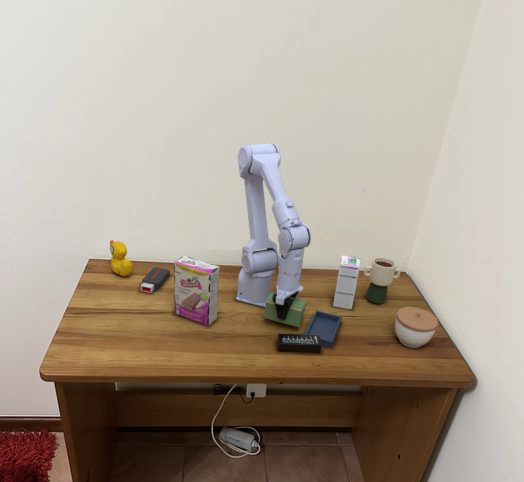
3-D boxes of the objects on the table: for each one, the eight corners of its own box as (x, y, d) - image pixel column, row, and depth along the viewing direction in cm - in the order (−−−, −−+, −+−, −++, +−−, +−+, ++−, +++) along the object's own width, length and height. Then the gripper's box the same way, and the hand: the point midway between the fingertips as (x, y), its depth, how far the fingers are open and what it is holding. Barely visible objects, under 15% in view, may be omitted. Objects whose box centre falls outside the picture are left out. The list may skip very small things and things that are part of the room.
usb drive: (170, 275, 152) (169, 268, 151) (154, 294, 142) (154, 286, 141) (154, 272, 153) (154, 265, 152) (137, 291, 143) (137, 282, 142)
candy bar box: (173, 315, 134) (172, 261, 125) (183, 306, 138) (183, 254, 129) (208, 327, 130) (210, 273, 122) (218, 318, 134) (220, 265, 126)
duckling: (104, 267, 154) (102, 238, 148) (121, 263, 157) (118, 234, 151) (121, 282, 146) (118, 252, 141) (137, 278, 149) (135, 248, 144)
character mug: (390, 295, 154) (399, 258, 147) (395, 307, 148) (405, 269, 141) (356, 292, 153) (364, 255, 147) (359, 304, 147) (368, 266, 141)
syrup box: (351, 310, 144) (361, 266, 137) (331, 306, 145) (340, 262, 137) (352, 300, 149) (361, 257, 142) (333, 297, 150) (341, 254, 142)
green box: (263, 318, 133) (265, 299, 130) (268, 310, 137) (270, 291, 133) (299, 327, 131) (302, 308, 127) (303, 319, 134) (306, 300, 131)
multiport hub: (276, 340, 128) (277, 333, 126) (318, 342, 128) (319, 335, 127) (278, 350, 124) (279, 343, 123) (320, 352, 125) (322, 345, 123)
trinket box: (424, 358, 127) (434, 328, 122) (385, 342, 131) (392, 313, 126) (435, 339, 135) (444, 310, 130) (397, 325, 139) (405, 297, 134)
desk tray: (303, 340, 129) (304, 334, 128) (315, 315, 140) (315, 310, 139) (331, 347, 127) (332, 342, 126) (341, 322, 138) (342, 316, 137)
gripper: (297, 286, 119) (290, 331, 126) (311, 262, 131) (305, 305, 138) (270, 279, 120) (265, 325, 128) (286, 256, 132) (281, 299, 139)
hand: (284, 314), depth 133 cm, fingers closed on green box, 4 cm apart
